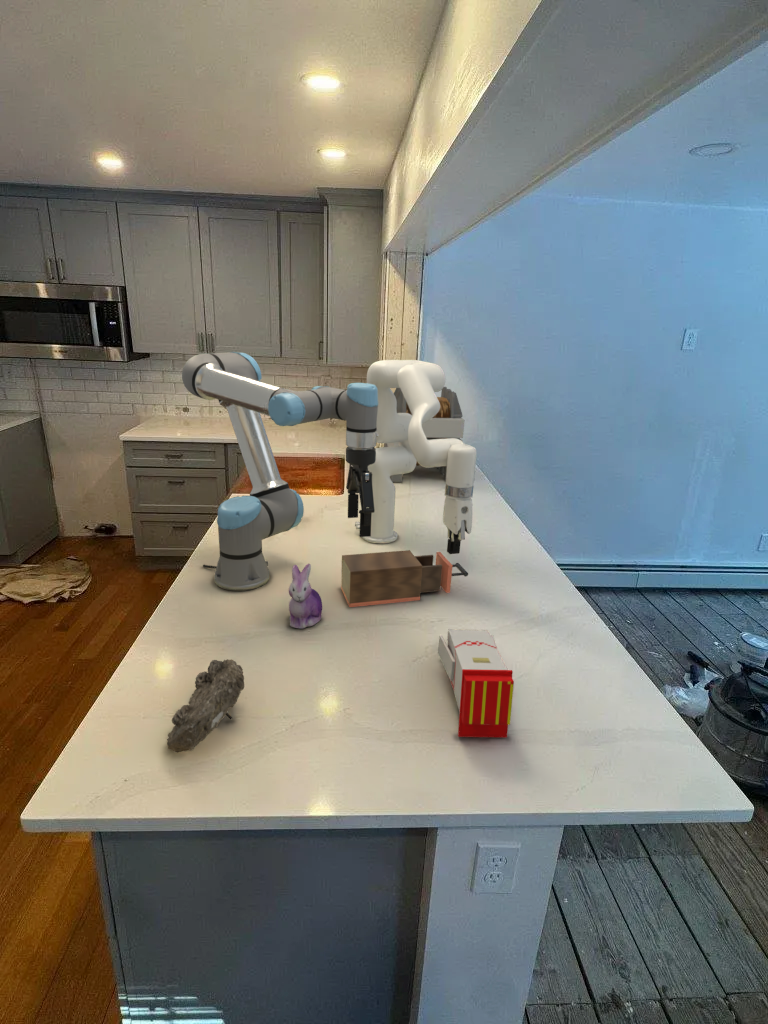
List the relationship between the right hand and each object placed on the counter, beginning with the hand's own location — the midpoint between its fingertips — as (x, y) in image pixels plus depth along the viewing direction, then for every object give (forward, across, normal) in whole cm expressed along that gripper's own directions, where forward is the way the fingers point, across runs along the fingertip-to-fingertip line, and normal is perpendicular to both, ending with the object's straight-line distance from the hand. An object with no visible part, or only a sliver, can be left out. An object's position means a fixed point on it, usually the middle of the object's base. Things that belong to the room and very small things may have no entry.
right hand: (453, 552), depth 159 cm
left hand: (-10, 0, +28) cm, 29 cm away
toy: (+11, -45, +14) cm, 48 cm away
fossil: (+11, -41, +66) cm, 78 cm away
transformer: (+11, +115, -31) cm, 120 cm away
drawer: (+10, 0, +8) cm, 13 cm away
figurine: (+11, -10, +43) cm, 45 cm away
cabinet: (+11, 0, +21) cm, 24 cm away
